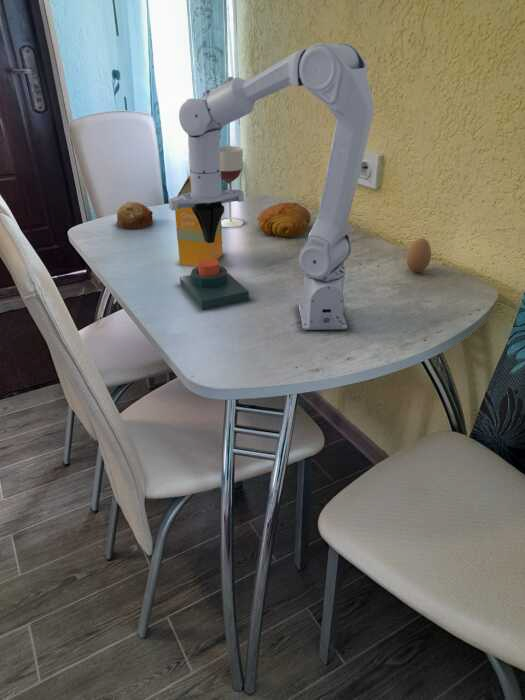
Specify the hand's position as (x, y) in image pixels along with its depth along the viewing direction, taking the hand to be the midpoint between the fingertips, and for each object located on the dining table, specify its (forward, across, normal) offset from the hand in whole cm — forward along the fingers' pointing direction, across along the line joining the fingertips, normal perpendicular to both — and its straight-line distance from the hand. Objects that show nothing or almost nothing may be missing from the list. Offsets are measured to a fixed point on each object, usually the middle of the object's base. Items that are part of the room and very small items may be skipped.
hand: (209, 241), depth 100 cm
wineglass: (+10, -21, -40) cm, 46 cm away
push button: (+7, 0, 0) cm, 7 cm away
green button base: (+10, 0, +2) cm, 11 cm away
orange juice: (+10, -4, -17) cm, 20 cm away
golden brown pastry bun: (+11, -32, -28) cm, 44 cm away
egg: (+11, -45, +12) cm, 47 cm away
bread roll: (+10, +3, -51) cm, 52 cm away
